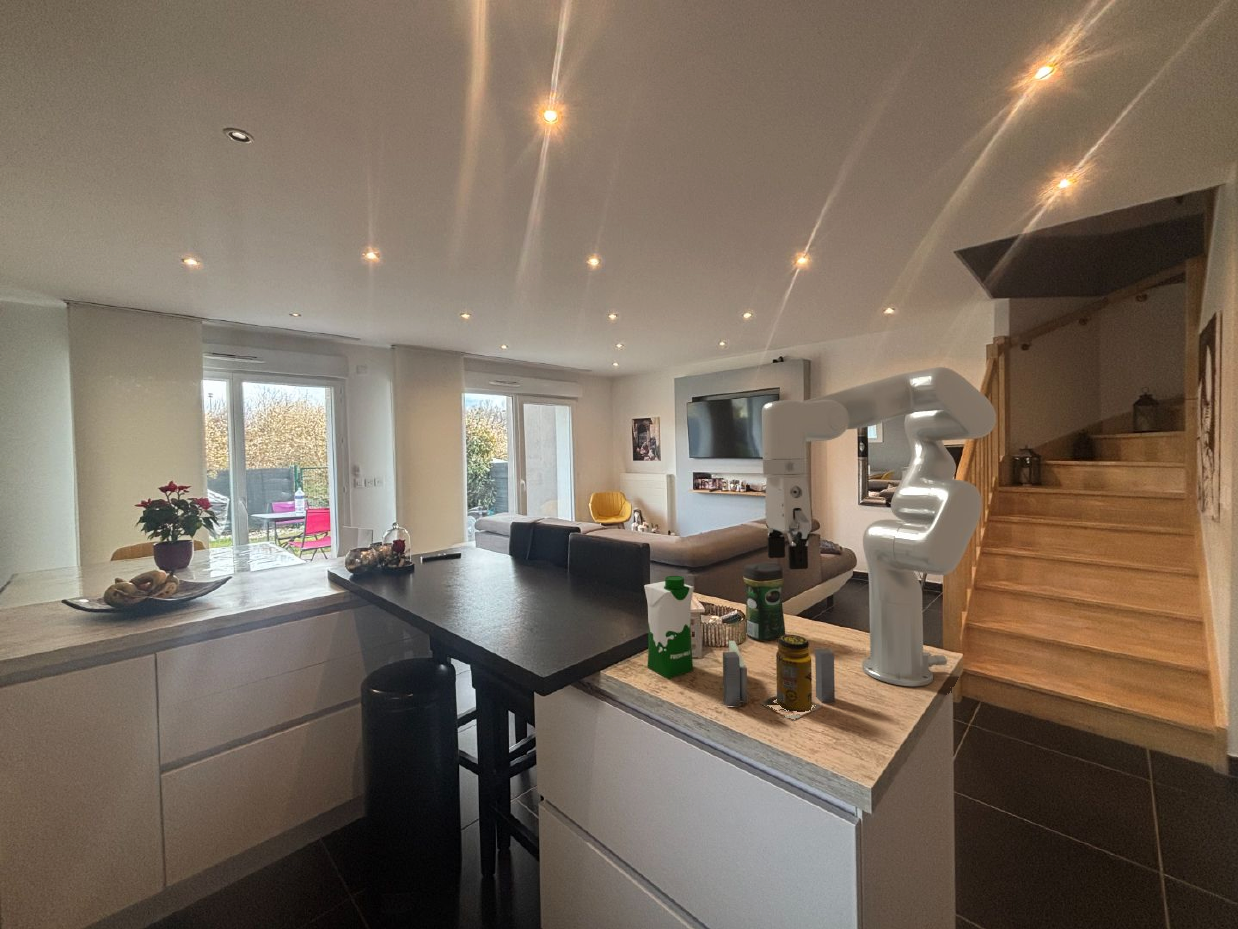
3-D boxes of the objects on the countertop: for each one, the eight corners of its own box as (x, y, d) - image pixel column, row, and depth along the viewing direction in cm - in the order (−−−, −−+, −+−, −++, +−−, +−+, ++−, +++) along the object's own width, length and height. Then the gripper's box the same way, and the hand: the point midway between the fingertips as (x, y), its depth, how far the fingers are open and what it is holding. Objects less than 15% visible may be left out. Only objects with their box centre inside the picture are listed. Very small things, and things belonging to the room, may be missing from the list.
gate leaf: (739, 702, 88) (738, 669, 88) (727, 669, 102) (727, 640, 102) (749, 702, 88) (748, 669, 88) (736, 669, 102) (736, 640, 102)
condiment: (822, 707, 87) (821, 640, 87) (792, 721, 82) (791, 651, 82) (788, 691, 93) (787, 629, 93) (758, 704, 88) (757, 638, 88)
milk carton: (666, 682, 98) (665, 583, 98) (641, 666, 105) (639, 575, 105) (699, 671, 102) (697, 577, 102) (672, 657, 110) (670, 569, 110)
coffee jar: (769, 628, 128) (768, 558, 128) (790, 638, 121) (789, 563, 120) (739, 633, 124) (737, 561, 124) (759, 644, 117) (757, 567, 117)
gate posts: (828, 695, 91) (827, 648, 91) (834, 702, 88) (833, 653, 88) (723, 700, 89) (722, 652, 89) (727, 707, 87) (726, 657, 87)
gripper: (827, 469, 79) (830, 573, 80) (785, 468, 97) (787, 553, 97) (783, 470, 79) (785, 574, 79) (748, 469, 96) (750, 554, 96)
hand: (786, 562), depth 88 cm, fingers open, 9 cm apart
